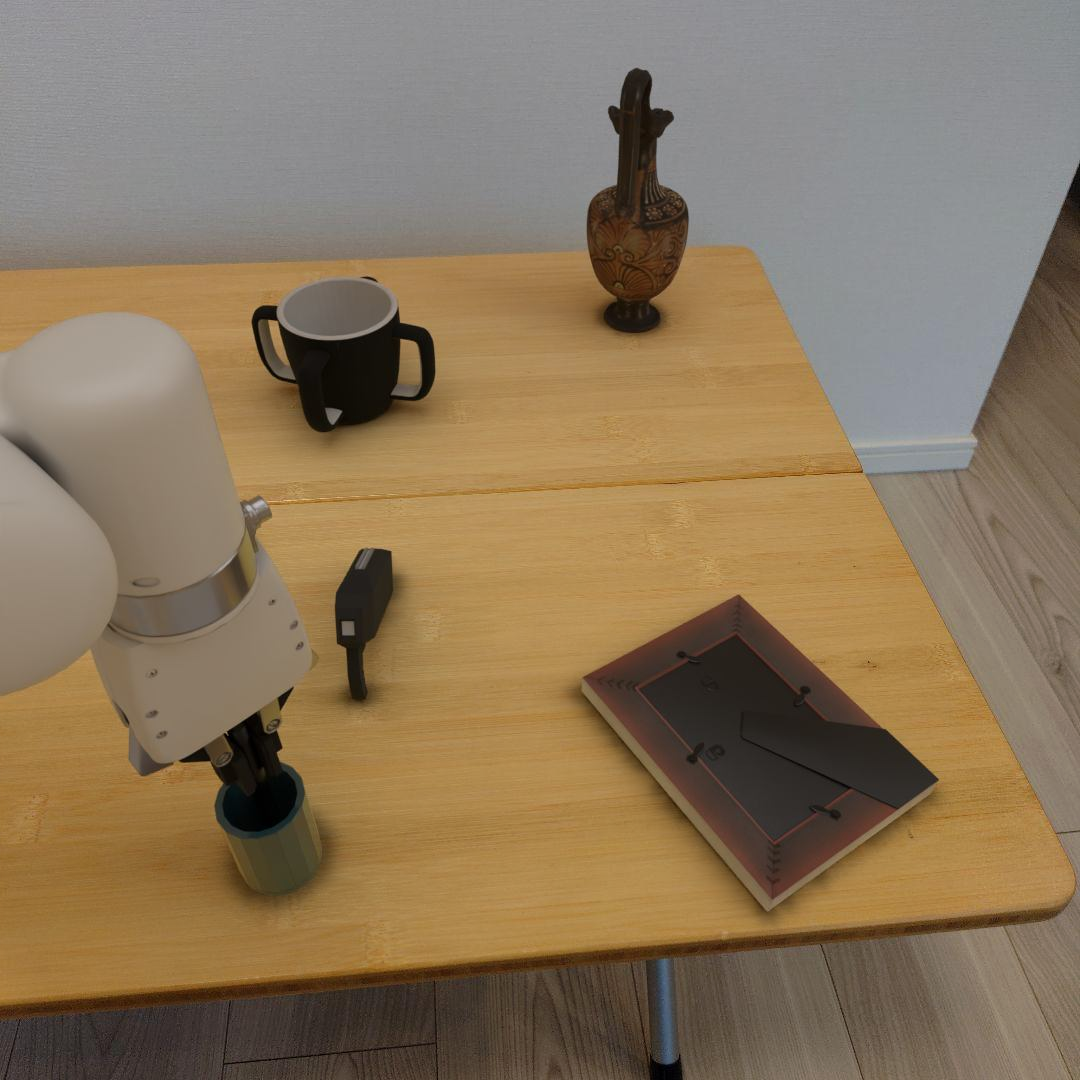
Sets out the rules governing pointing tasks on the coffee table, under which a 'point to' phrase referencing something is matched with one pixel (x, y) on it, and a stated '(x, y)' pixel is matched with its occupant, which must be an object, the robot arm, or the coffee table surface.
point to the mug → (343, 349)
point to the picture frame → (757, 747)
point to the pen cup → (271, 835)
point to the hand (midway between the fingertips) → (252, 768)
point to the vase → (636, 215)
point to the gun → (362, 609)
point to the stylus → (256, 775)
